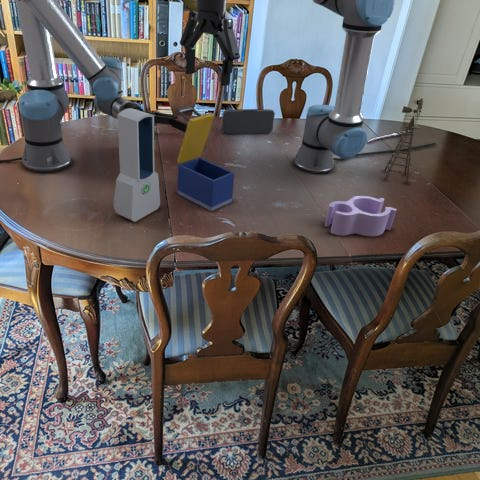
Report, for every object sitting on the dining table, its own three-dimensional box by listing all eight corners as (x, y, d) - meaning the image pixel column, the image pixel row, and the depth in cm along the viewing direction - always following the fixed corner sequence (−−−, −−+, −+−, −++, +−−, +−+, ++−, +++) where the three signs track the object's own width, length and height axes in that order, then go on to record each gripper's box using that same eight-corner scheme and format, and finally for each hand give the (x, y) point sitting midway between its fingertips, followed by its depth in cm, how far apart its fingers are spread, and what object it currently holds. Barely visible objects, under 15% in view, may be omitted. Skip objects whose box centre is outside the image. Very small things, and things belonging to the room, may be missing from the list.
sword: (405, 131, 224) (406, 128, 224) (410, 133, 222) (411, 130, 222) (362, 142, 208) (362, 140, 208) (367, 144, 206) (368, 142, 206)
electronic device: (132, 223, 132) (128, 120, 116) (113, 215, 135) (106, 113, 119) (161, 207, 141) (161, 110, 125) (142, 199, 144) (140, 103, 128)
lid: (214, 115, 140) (196, 100, 143) (192, 121, 134) (173, 105, 136) (200, 156, 151) (184, 141, 153) (179, 163, 144) (162, 148, 147)
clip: (337, 240, 135) (342, 219, 131) (318, 218, 145) (322, 198, 141) (395, 233, 141) (402, 213, 137) (373, 213, 151) (378, 194, 147)
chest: (231, 201, 149) (234, 172, 144) (211, 211, 143) (213, 181, 137) (198, 184, 157) (199, 157, 151) (177, 193, 150) (178, 164, 145)
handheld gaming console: (270, 130, 208) (273, 108, 202) (272, 133, 206) (275, 110, 200) (221, 132, 201) (222, 109, 195) (222, 134, 199) (224, 111, 193)
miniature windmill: (407, 184, 173) (433, 103, 157) (384, 180, 174) (407, 99, 158) (405, 174, 181) (429, 96, 164) (383, 170, 182) (405, 93, 165)
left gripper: (156, 117, 171) (197, 135, 160) (97, 129, 154) (139, 151, 143) (156, 96, 167) (198, 114, 156) (97, 107, 150) (139, 127, 139)
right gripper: (258, 1, 115) (249, 88, 127) (188, -13, 128) (185, 67, 139) (239, 1, 110) (231, 92, 122) (167, -13, 123) (167, 70, 134)
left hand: (170, 132), depth 150 cm, fingers open, 13 cm apart
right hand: (207, 79), depth 131 cm, fingers open, 13 cm apart
